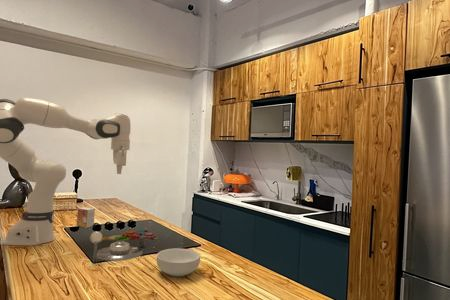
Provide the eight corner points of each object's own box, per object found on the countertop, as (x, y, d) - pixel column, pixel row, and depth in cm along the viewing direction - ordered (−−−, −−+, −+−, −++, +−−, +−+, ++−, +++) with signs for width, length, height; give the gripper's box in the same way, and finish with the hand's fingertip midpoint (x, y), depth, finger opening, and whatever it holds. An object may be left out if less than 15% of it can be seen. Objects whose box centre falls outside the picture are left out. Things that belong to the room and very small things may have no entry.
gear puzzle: (99, 249, 147) (99, 240, 147) (88, 240, 160) (88, 232, 160) (159, 239, 168) (159, 232, 168) (145, 232, 180) (145, 225, 180)
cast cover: (120, 256, 133) (121, 245, 133) (105, 253, 136) (106, 242, 136) (132, 251, 140) (133, 240, 140) (118, 248, 143) (119, 238, 143)
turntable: (123, 266, 125) (123, 252, 125) (83, 258, 132) (84, 244, 132) (155, 250, 147) (156, 238, 147) (120, 244, 154) (120, 232, 154)
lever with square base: (87, 268, 122) (89, 233, 122) (89, 263, 127) (91, 229, 127) (100, 268, 123) (101, 233, 123) (101, 263, 128) (103, 229, 128)
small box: (76, 226, 185) (77, 208, 185) (83, 224, 190) (84, 206, 190) (86, 228, 182) (87, 209, 182) (94, 226, 187) (95, 208, 187)
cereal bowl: (180, 285, 111) (181, 265, 111) (146, 273, 120) (147, 255, 120) (207, 271, 125) (208, 253, 125) (175, 262, 134) (176, 245, 134)
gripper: (130, 146, 150) (128, 175, 150) (124, 146, 169) (122, 172, 169) (116, 146, 148) (114, 175, 148) (111, 146, 166) (110, 172, 166)
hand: (118, 173), depth 158 cm, fingers closed
